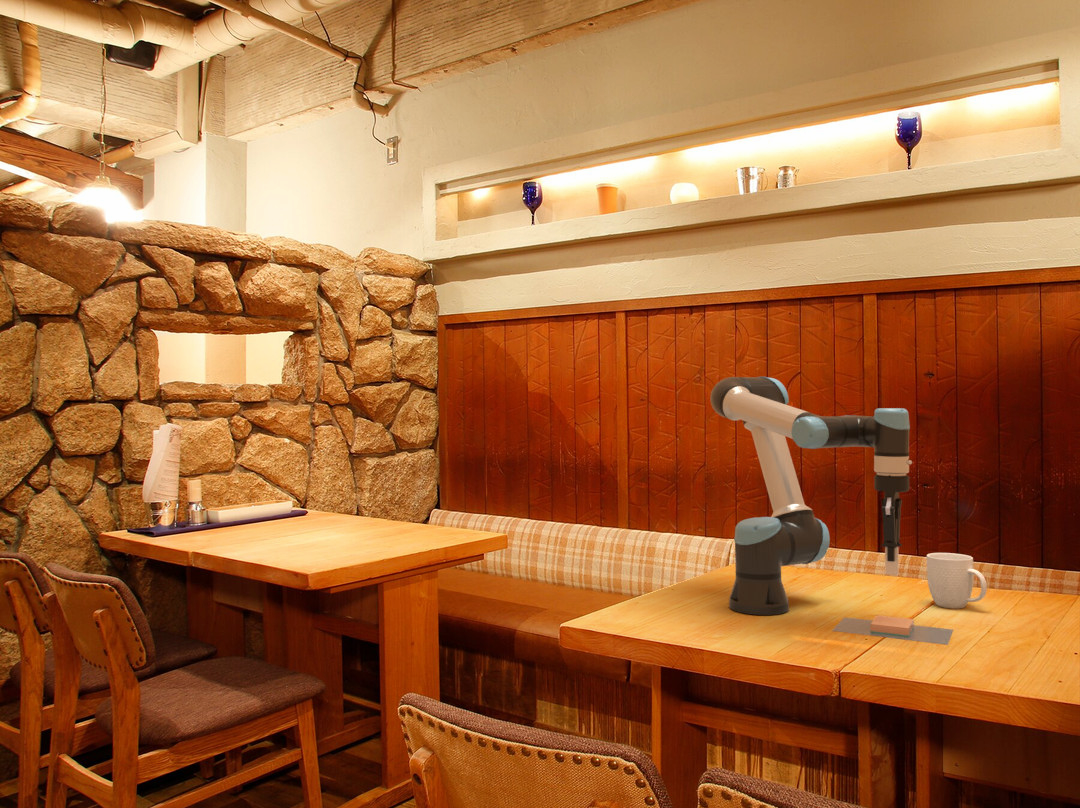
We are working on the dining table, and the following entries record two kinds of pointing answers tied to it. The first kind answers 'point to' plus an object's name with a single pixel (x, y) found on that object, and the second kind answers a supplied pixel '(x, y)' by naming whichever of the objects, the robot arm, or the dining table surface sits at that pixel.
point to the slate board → (916, 635)
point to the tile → (892, 626)
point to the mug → (952, 579)
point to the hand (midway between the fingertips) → (891, 574)
